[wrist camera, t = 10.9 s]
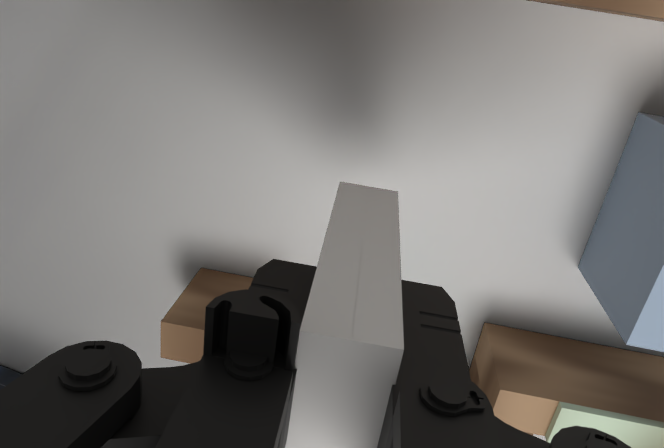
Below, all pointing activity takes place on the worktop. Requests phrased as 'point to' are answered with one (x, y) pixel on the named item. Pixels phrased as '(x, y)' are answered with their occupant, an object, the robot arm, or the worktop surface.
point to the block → (632, 240)
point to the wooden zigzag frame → (508, 348)
